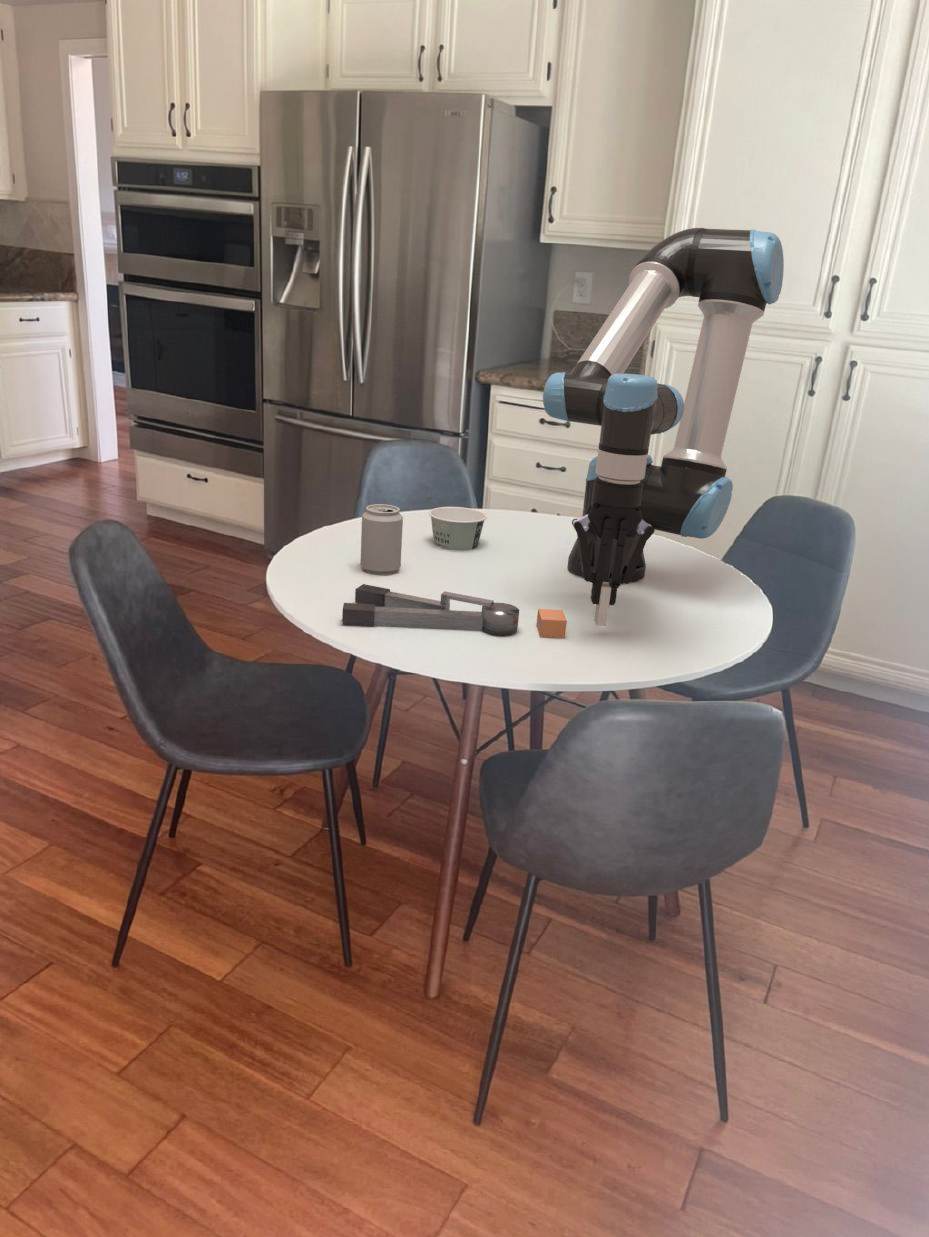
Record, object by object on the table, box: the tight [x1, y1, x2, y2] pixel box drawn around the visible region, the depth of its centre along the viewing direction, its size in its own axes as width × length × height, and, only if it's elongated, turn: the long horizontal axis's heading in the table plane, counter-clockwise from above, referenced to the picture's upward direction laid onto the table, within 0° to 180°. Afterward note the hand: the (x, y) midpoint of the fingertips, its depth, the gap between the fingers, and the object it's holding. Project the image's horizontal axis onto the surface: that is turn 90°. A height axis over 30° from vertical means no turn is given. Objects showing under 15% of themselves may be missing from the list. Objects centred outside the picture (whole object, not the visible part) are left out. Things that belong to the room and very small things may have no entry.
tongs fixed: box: [341, 602, 520, 637], centre depth 150 cm, size 28×6×4 cm, turn 93°
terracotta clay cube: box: [535, 608, 568, 639], centre depth 152 cm, size 4×5×3 cm
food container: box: [428, 506, 488, 551], centre depth 195 cm, size 12×12×6 cm
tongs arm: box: [354, 583, 495, 610], centre depth 155 cm, size 24×3×4 cm, turn 70°
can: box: [359, 503, 404, 576], centre depth 174 cm, size 8×8×12 cm
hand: (599, 622), depth 152 cm, fingers closed
